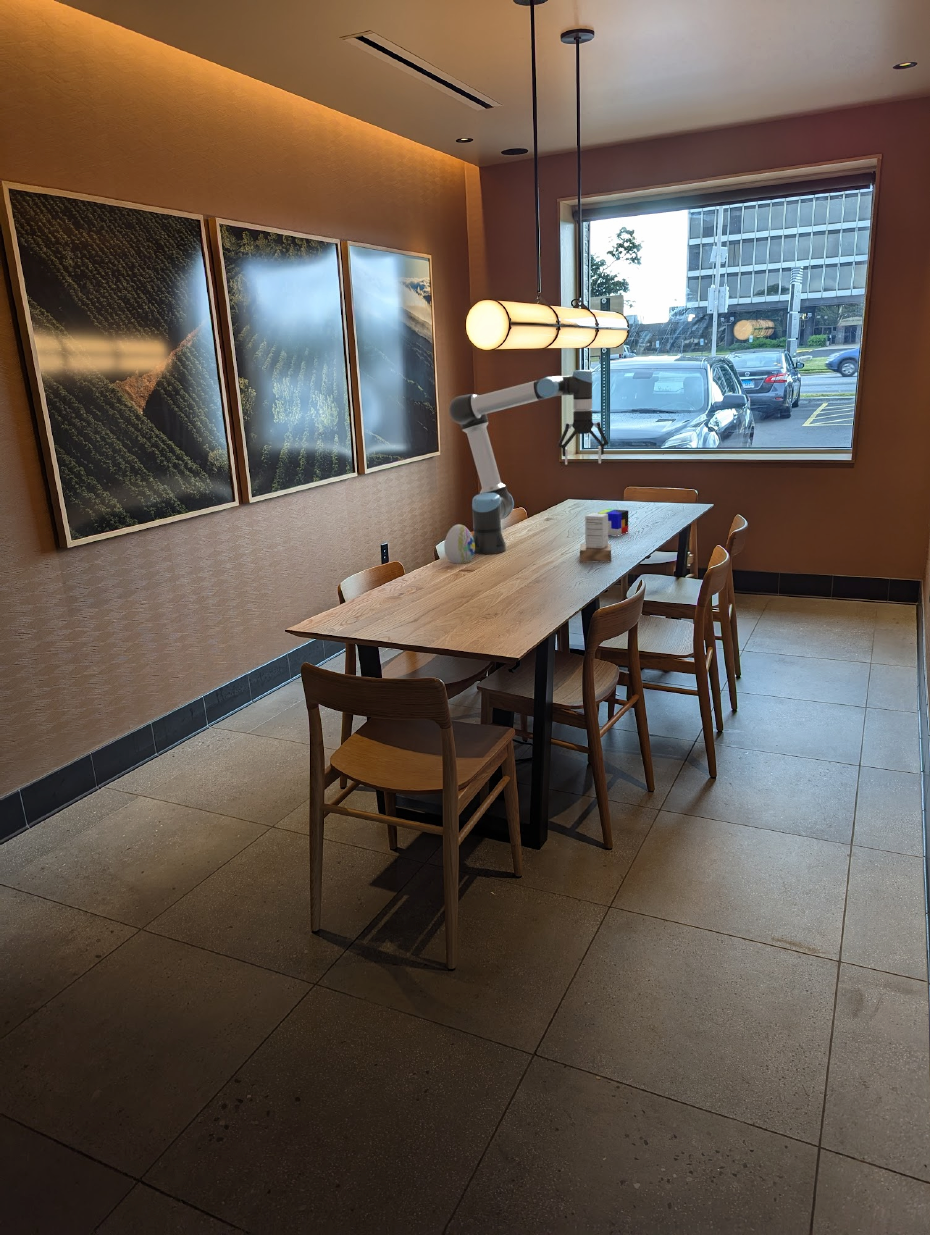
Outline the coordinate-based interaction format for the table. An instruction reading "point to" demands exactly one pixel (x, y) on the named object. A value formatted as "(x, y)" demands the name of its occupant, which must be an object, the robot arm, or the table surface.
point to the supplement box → (596, 530)
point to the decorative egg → (459, 544)
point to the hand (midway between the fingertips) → (582, 463)
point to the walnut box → (595, 553)
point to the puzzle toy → (616, 521)
